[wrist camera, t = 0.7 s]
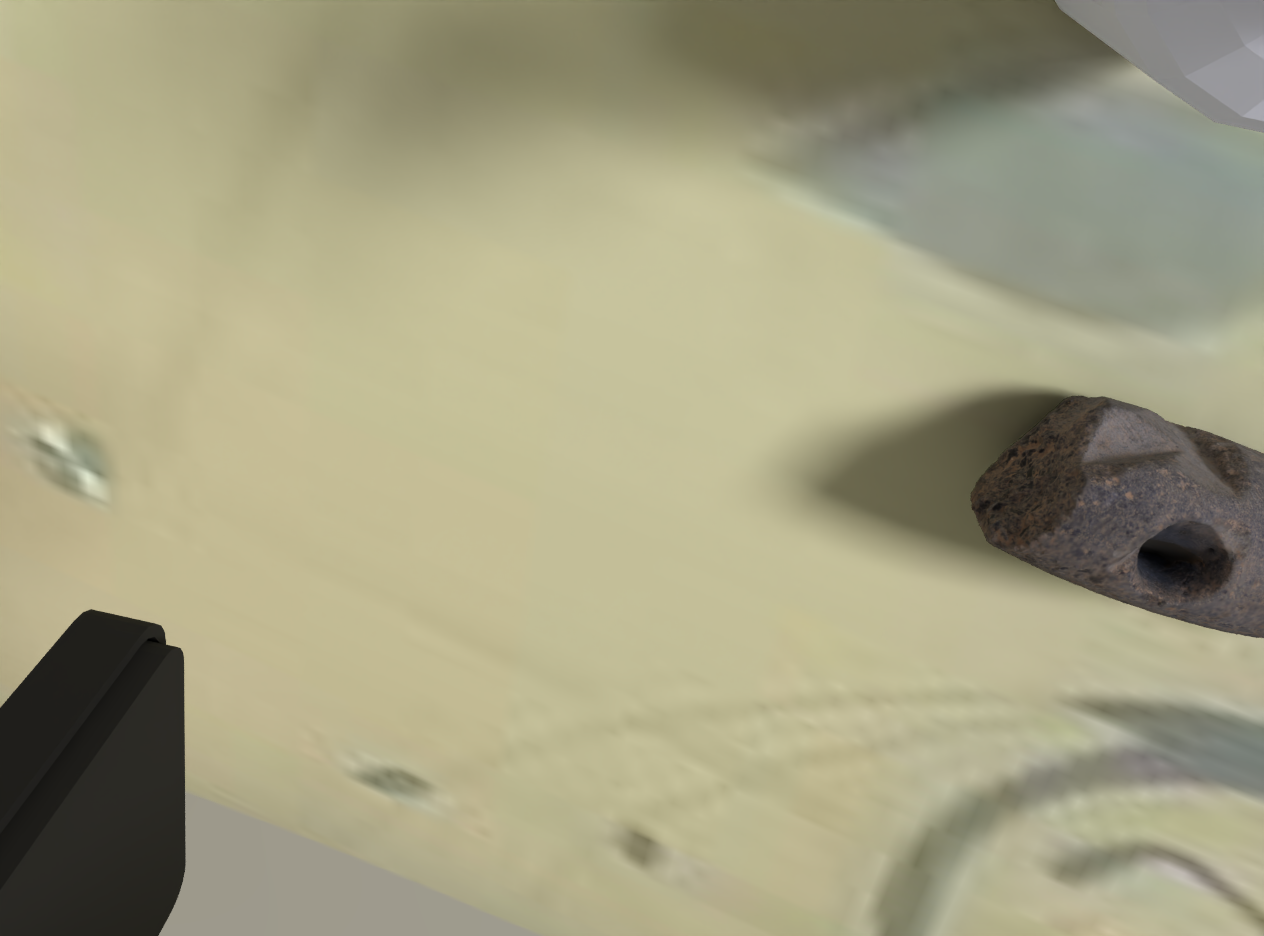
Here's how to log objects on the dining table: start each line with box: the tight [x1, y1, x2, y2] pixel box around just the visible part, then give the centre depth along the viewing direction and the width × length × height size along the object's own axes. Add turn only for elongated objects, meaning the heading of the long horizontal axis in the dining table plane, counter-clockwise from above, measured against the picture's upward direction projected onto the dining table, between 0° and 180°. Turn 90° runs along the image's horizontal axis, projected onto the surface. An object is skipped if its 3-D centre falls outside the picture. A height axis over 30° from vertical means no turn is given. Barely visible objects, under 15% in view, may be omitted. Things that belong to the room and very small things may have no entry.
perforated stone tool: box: [971, 396, 1264, 638], centre depth 36 cm, size 15×5×7 cm, turn 70°
